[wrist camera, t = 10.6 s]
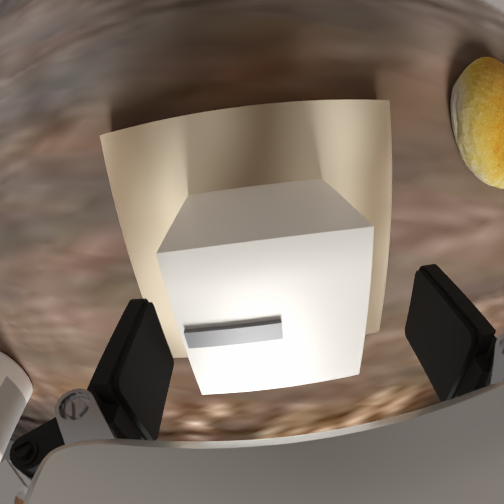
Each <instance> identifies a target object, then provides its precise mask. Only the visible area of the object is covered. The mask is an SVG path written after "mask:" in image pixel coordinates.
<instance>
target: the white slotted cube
mask: <svg viewBox="0 0 504 504" xmlns="http://www.w3.org/2000/svg"><path fill="white" fill-rule="evenodd" d="M373 238H374V226H373V225H372V224H371V223H370V222H369V221H368V220H367V219H366V218H365V217H364V216H363V215H362V214H360V213H359V212H358V211H357V210H356V209H355V208H354V207H353V206H352V205H351V204H350V203H349V202H348V201H347V200H345V199H344V198H343V197H342V196H341V195H340V194H339V193H338V192H337V191H336V190H334V189H333V188H332V187H331V186H330V185H329V184H328V183H327V182H325V181H324V180H323V179H313V180H303V181H293V182H283V183H274V184H266V185H257V186H249V187H241V188H234V189H227V190H219V191H212V192H206V193H199V194H192V195H188V196H187V198H186V200H185V202H184V203H183V205H182V207H181V209H180V210H179V212H178V214H177V216H176V217H175V219H174V221H173V223H172V225H171V227H170V228H169V230H168V232H167V234H166V236H165V238H164V239H163V241H162V243H161V245H160V247H159V249H158V251H157V253H156V255H157V259H158V263H159V266H160V270H161V273H162V277H163V280H164V284H165V287H166V290H167V294H168V297H169V300H170V304H171V307H172V310H173V313H174V316H175V319H176V323H177V326H178V329H179V332H180V335H181V338H182V341H183V344H184V346H185V349H186V352H187V355H188V358H189V361H190V363H191V366H192V369H193V372H194V374H195V377H196V380H197V383H198V385H199V388H200V390H201V393H202V395H206V394H222V393H235V392H247V391H257V390H266V389H274V388H282V387H289V386H297V385H303V384H310V383H316V382H322V381H327V380H333V379H338V378H343V377H348V376H353V375H358V374H359V371H360V365H361V358H362V352H363V345H364V338H365V330H366V322H367V314H368V305H369V295H370V284H371V271H372V257H373Z"/></svg>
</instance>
